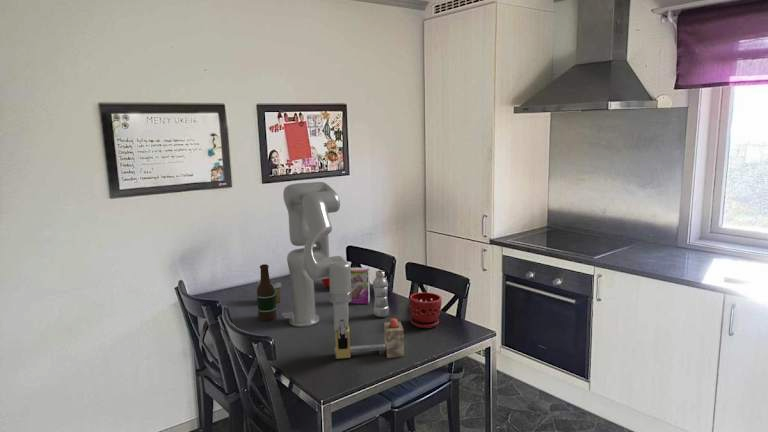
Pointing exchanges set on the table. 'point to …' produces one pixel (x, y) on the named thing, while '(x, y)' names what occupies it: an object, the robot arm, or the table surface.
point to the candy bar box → (360, 286)
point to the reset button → (393, 323)
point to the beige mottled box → (394, 340)
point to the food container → (277, 290)
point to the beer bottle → (266, 297)
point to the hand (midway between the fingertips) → (342, 344)
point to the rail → (367, 348)
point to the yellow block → (342, 352)
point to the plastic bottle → (380, 294)
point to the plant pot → (425, 309)
